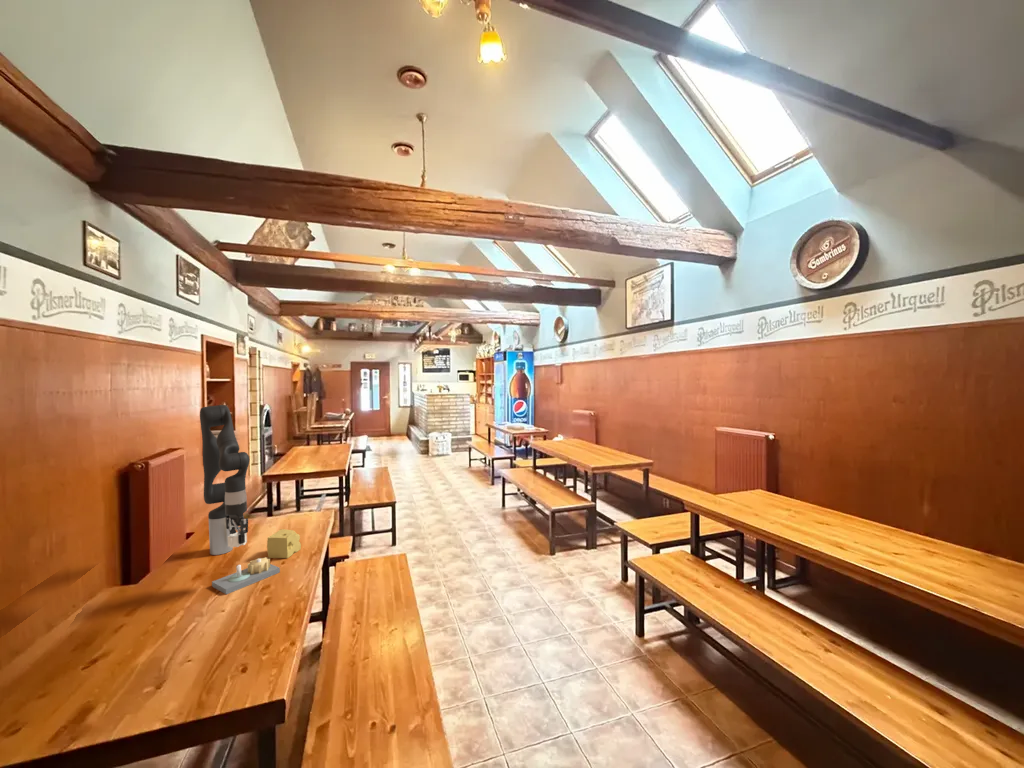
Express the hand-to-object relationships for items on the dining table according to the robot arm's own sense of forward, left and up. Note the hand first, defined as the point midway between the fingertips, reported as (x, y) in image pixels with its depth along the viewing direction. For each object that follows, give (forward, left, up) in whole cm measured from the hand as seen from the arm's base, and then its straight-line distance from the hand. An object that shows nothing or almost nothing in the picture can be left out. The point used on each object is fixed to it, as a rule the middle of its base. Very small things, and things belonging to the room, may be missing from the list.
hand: (237, 541), depth 174 cm
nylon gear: (0, 0, -1) cm, 1 cm away
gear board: (0, +3, -17) cm, 17 cm away
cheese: (-11, +25, -18) cm, 33 cm away
